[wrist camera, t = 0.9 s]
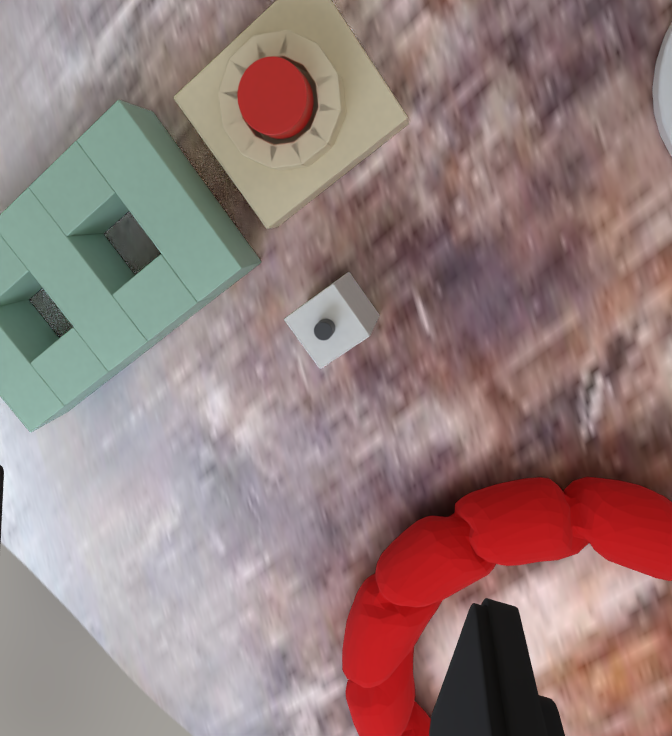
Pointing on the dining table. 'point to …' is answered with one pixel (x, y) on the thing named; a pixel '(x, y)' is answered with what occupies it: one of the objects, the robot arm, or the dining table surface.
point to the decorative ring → (483, 574)
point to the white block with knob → (333, 320)
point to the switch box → (328, 120)
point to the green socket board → (106, 262)
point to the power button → (275, 97)
